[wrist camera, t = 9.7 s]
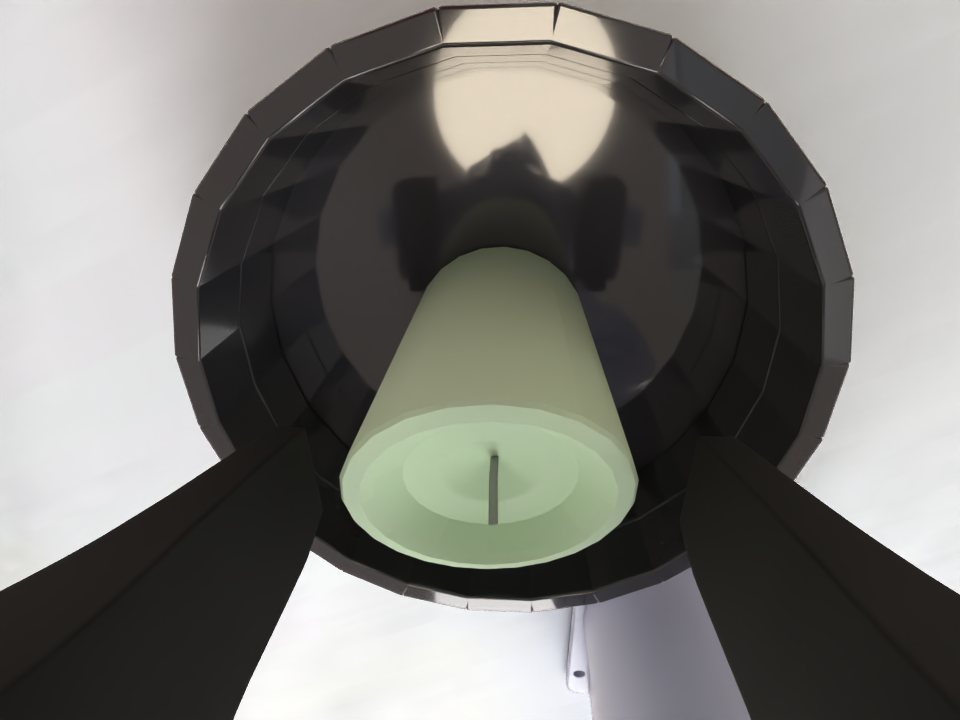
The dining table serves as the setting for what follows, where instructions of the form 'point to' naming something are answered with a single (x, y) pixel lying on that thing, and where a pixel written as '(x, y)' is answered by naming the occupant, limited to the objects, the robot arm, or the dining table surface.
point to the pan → (527, 226)
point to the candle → (492, 424)
